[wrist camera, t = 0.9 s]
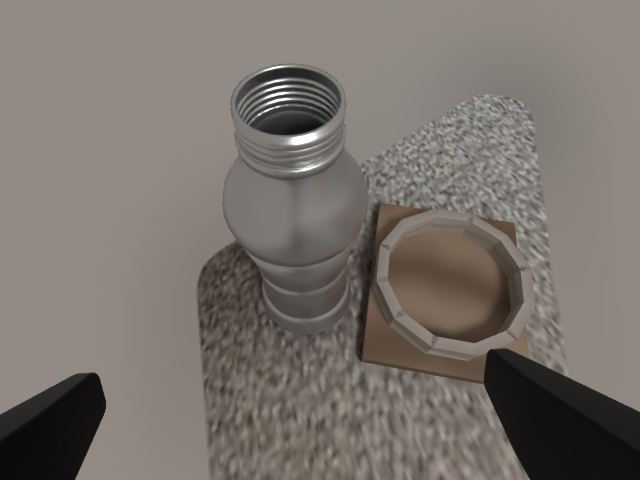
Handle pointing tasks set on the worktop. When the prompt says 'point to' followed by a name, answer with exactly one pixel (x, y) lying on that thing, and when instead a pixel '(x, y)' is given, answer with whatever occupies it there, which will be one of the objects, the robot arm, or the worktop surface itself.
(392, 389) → the worktop surface
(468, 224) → the square coaster with ring
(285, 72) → the silver bottle
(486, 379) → the robot arm
